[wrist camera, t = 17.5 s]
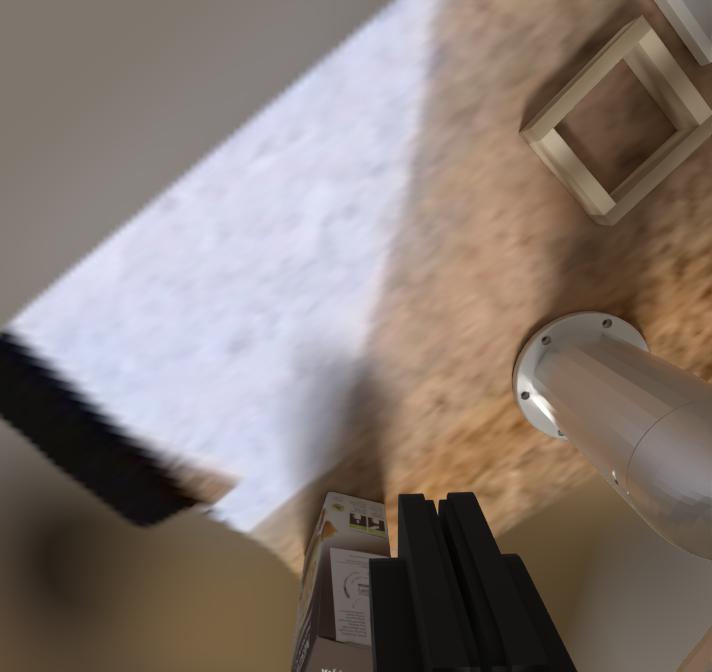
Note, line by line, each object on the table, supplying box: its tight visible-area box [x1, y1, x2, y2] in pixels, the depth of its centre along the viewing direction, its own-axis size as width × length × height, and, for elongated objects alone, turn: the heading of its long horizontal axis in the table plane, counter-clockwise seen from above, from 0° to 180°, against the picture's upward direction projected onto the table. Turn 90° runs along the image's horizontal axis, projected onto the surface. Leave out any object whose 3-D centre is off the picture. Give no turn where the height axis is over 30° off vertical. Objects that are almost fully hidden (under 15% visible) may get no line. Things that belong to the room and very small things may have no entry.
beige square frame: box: [519, 15, 712, 226], centre depth 36 cm, size 10×10×2 cm
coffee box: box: [291, 492, 391, 672], centre depth 40 cm, size 9×6×16 cm
